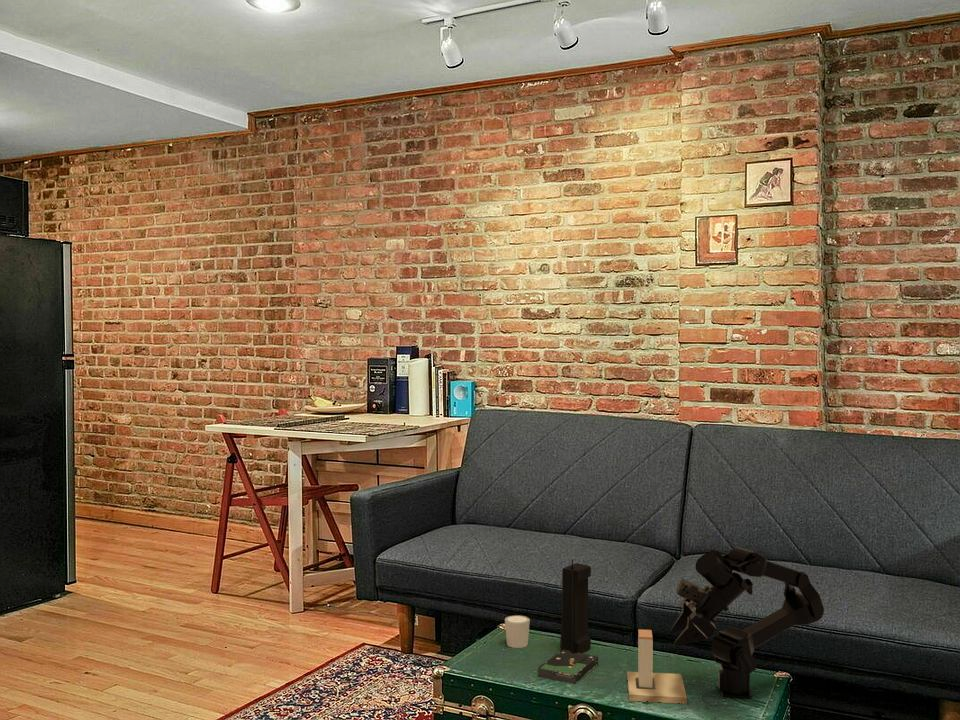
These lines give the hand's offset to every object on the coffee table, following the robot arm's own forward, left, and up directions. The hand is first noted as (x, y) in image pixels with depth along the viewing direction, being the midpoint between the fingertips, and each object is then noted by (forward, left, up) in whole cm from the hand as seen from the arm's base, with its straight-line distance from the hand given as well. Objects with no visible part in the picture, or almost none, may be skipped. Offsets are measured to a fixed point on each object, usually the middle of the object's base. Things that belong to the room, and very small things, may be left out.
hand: (673, 638), depth 210 cm
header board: (+4, 0, -13) cm, 13 cm away
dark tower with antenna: (+24, -25, -13) cm, 37 cm away
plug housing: (+7, 0, -11) cm, 13 cm away
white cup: (+40, -27, -13) cm, 50 cm away
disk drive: (+25, -10, -13) cm, 30 cm away
